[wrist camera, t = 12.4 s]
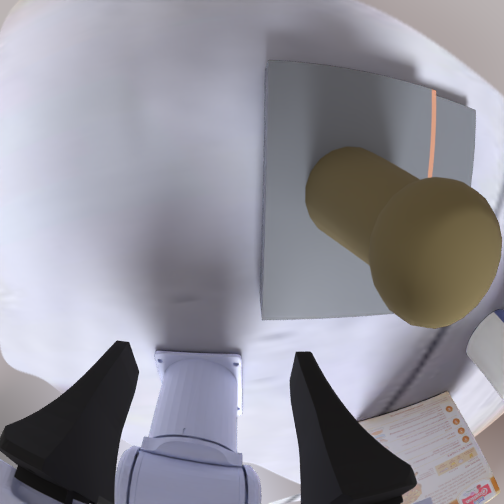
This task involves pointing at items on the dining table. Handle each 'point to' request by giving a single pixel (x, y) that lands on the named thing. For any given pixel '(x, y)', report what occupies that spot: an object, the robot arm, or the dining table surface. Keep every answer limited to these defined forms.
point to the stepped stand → (321, 143)
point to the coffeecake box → (436, 452)
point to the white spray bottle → (489, 349)
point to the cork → (408, 233)
